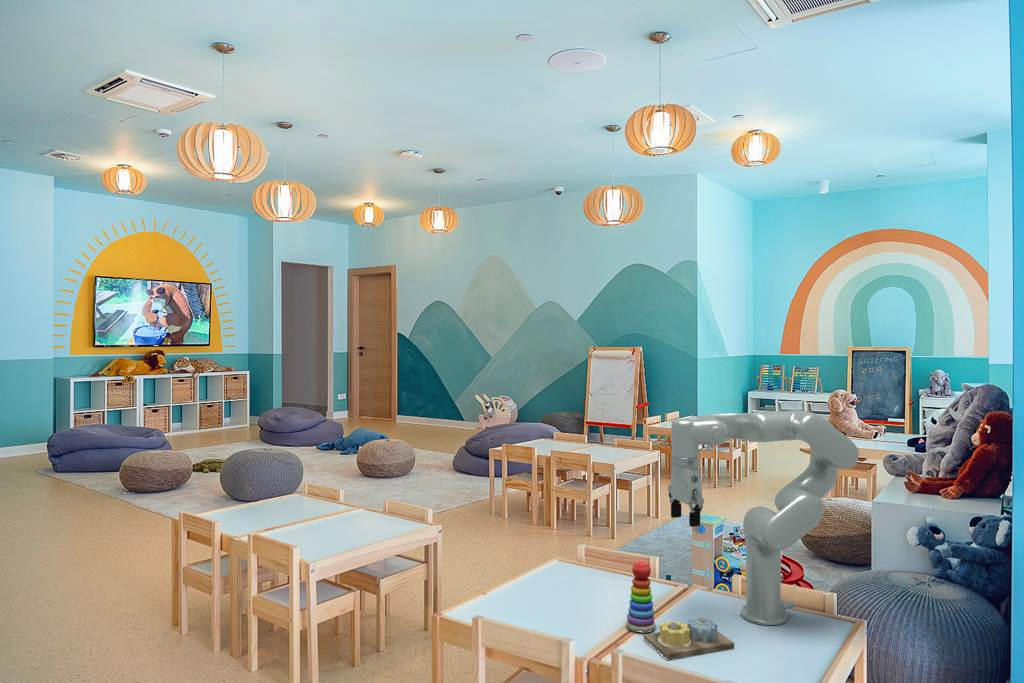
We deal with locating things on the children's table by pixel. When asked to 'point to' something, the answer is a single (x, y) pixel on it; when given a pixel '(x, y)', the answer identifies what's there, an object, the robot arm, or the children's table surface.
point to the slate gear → (702, 630)
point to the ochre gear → (675, 634)
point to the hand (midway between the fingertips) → (685, 521)
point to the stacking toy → (641, 600)
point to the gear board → (690, 648)
